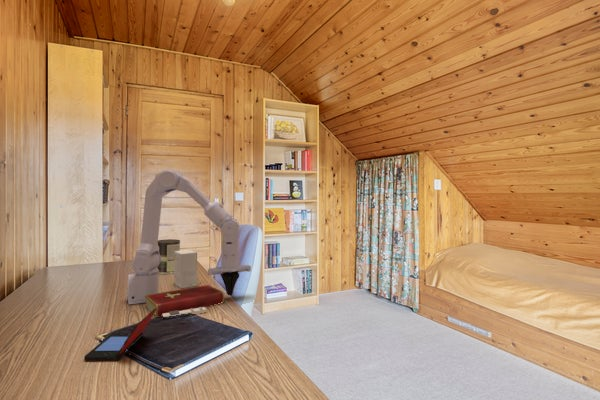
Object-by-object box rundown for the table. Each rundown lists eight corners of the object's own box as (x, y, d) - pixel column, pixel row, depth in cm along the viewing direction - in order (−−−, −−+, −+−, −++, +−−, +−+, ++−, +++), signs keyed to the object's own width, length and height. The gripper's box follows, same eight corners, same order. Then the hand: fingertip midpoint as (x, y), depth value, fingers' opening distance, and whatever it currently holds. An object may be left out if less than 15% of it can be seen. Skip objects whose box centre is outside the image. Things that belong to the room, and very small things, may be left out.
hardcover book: (224, 304, 106) (224, 291, 106) (156, 319, 93) (156, 304, 93) (208, 295, 115) (208, 283, 115) (144, 308, 102) (144, 294, 102)
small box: (197, 286, 126) (197, 252, 126) (180, 288, 122) (181, 253, 122) (189, 281, 132) (189, 249, 132) (173, 284, 128) (173, 250, 128)
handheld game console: (112, 337, 80) (112, 306, 80) (157, 336, 81) (157, 306, 81) (81, 363, 68) (81, 327, 68) (134, 362, 68) (135, 326, 68)
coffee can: (154, 274, 142) (154, 242, 142) (156, 269, 152) (157, 239, 152) (179, 273, 145) (179, 241, 145) (180, 268, 155) (180, 239, 155)
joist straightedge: (163, 319, 91) (163, 315, 91) (162, 317, 93) (162, 312, 93) (206, 312, 97) (206, 308, 97) (204, 310, 99) (204, 305, 99)
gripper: (212, 258, 104) (211, 300, 104) (254, 254, 111) (253, 294, 112) (206, 254, 110) (205, 294, 110) (246, 251, 118) (246, 289, 118)
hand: (229, 294), depth 111 cm, fingers closed
